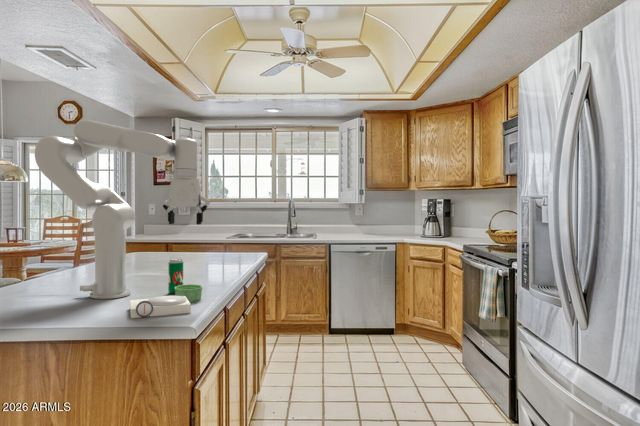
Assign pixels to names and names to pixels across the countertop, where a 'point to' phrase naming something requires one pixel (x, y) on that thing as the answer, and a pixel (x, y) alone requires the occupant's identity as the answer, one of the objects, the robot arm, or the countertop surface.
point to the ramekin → (189, 291)
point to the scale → (159, 306)
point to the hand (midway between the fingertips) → (185, 224)
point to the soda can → (175, 274)
